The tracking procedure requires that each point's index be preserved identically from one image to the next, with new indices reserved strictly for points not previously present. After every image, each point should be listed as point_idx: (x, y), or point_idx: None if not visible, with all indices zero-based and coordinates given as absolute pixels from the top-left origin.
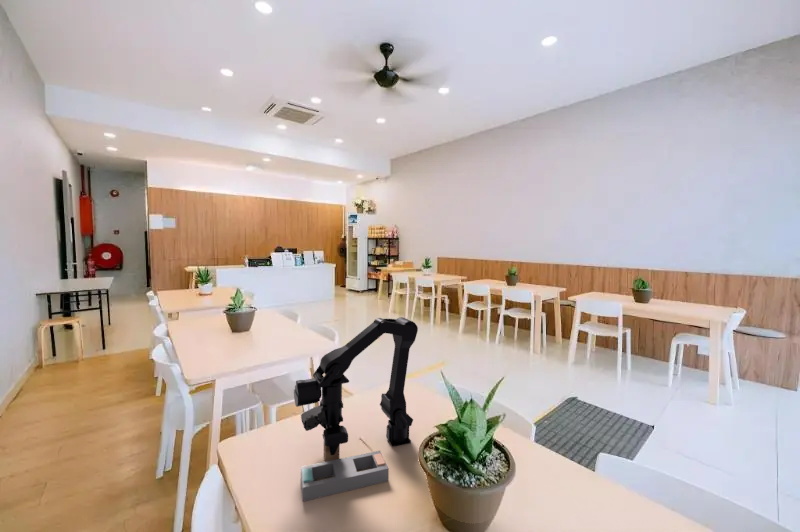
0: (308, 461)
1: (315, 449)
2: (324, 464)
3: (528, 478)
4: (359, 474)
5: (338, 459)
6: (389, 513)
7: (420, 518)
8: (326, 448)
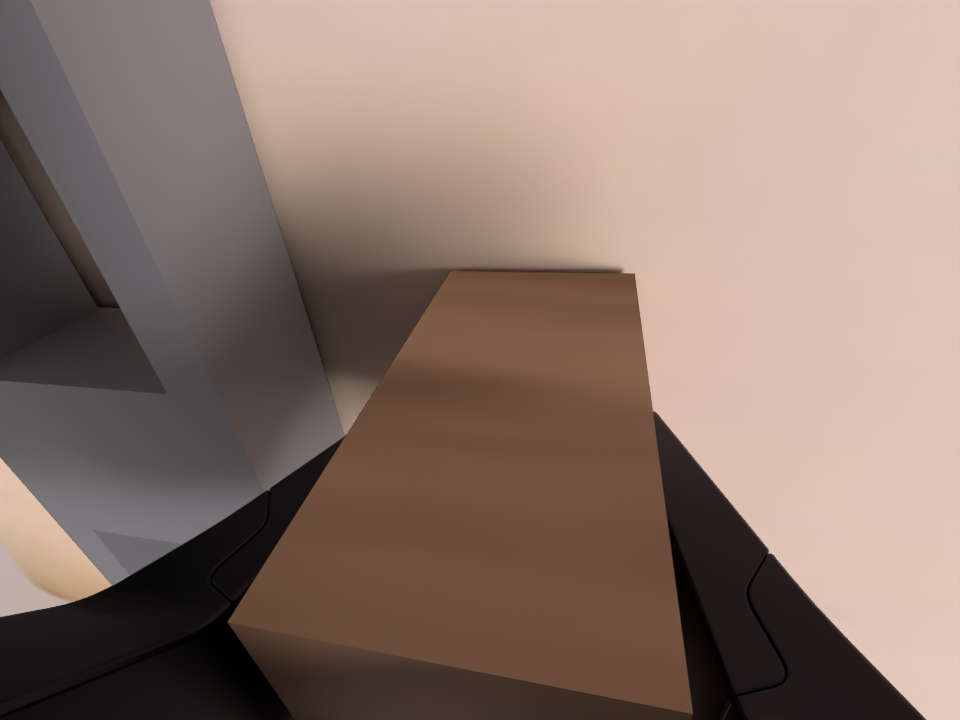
0: (606, 20)
1: (898, 168)
2: (127, 298)
3: None
4: (70, 533)
5: (240, 460)
6: (28, 503)
7: (45, 571)
8: (371, 413)
